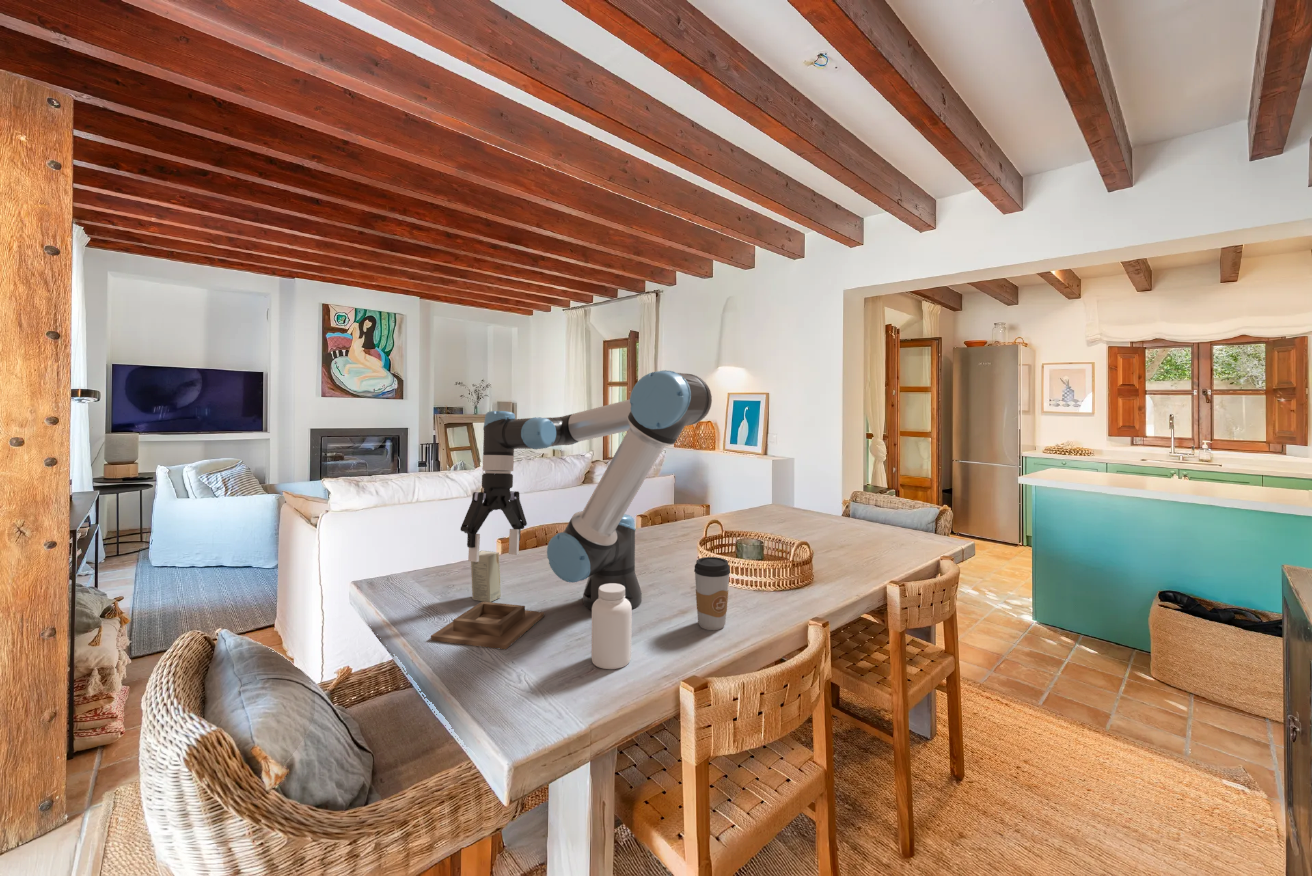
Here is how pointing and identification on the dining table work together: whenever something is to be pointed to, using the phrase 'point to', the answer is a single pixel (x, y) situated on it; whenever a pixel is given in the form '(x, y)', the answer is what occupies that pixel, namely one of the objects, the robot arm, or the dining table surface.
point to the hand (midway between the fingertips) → (494, 557)
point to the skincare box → (486, 577)
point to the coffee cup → (712, 591)
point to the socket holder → (489, 625)
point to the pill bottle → (611, 627)
